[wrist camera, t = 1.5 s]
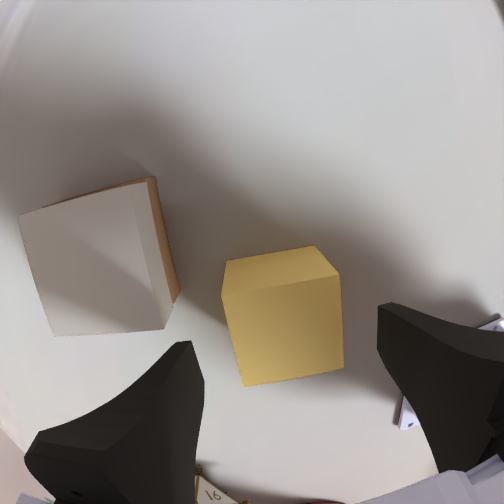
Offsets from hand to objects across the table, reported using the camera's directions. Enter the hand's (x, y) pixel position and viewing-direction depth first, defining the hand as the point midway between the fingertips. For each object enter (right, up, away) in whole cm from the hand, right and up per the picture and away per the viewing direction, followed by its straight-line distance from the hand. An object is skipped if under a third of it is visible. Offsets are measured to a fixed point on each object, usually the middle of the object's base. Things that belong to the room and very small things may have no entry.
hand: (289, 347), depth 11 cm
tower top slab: (-9, +3, +3) cm, 10 cm away
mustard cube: (0, +1, +5) cm, 5 cm away
